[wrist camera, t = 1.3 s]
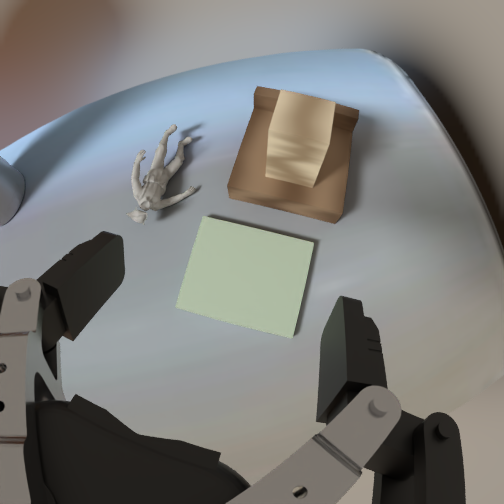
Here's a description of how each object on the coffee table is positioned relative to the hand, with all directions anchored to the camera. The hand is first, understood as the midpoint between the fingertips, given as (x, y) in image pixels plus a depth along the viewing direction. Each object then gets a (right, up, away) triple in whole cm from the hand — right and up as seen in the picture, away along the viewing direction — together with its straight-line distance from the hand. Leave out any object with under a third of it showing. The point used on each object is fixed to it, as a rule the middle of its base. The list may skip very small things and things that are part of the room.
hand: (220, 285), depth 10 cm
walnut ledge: (+6, +11, +24) cm, 27 cm away
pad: (0, -1, +20) cm, 21 cm away
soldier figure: (-9, +9, +24) cm, 27 cm away
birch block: (+6, +11, +20) cm, 24 cm away
